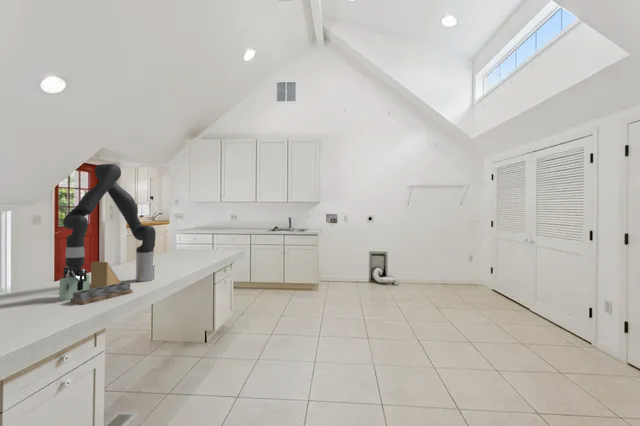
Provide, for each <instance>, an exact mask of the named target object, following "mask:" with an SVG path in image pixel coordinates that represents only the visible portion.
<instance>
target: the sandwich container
mask: <svg viewBox="0 0 640 426" xmlns="http://www.w3.org/2000/svg"><path fill="white" fill-rule="evenodd" d="M117 283H122V282H121V280H120V279H119V278H118V275H116V273H115V272H114V271H113V269H112V268H111V265H110V264H109V262H108V261H91V262H90V289H93V288H98V287H103V286H108V285H113V284H117Z"/></svg>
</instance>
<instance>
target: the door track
mask: <svg viewBox="0 0 640 426" xmlns="http://www.w3.org/2000/svg"><path fill="white" fill-rule="evenodd" d="M125 294H126V295H130V294H133V289H131V283H127V282H121V283H117V284H113V285H108V286H103V287H98V288H93V289H91V288H89V289H88V290H83V291H78V292H74V293H73V298H71V299H69V300H70V303H74V304H79V305H87V304H88V305H89V304H92V303H96V302H101V301H105V300H109V299H108V298H110V299H113V297H114V298H117V296H118V297H121V296H120V295H122V296H125ZM104 299H105V300H104ZM100 300H101V301H100Z"/></svg>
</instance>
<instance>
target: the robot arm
mask: <svg viewBox="0 0 640 426" xmlns="http://www.w3.org/2000/svg"><path fill="white" fill-rule="evenodd" d="M94 175H95V177H96V178H97V180H98V183H96V184H95V186H93V187H92V188H90V190H88V191H87V192H86V193H85V194H84V195H83V196H82V198H81V199H80V201H79V202H78V204H77V205H76V206H75V207H74V208H73V209H72V210H71V211H69V212H68V214H66V215H65V217H64V218H63V223H62V224H63V227H64V228H65V229H68V230H72V231H71V234H68V235H67V237H66V241H65V242H66V245H65V247H66V249H65V261H64V263H65V266H64V267H63V273H62V274H63V275H62V277H63V278H68V277H74V278H75V279H76V280H77V282H78V283H77V290H78V291H80V290H83V282H84V281H87V275H88V273H87V268H83V266H84V265H85V257H86V256H85V255H86V254H85V251H86V250H85V238H86V234H87V231H88V227H89V221H88V219H87V217H86V216H88V215H91V214H92V213H93V212H94V210H95V209H96V208H97V206H98V204H99V202H100V201H101V200H102V198H103V197H104V196H105V194H107V193H108V195H109V196H110V197H111V200H112V201H113V202H114V204H115V206H116V207H117V209H118V211H119V212H120V214H121V215H122V216H123V219H124V220H125V221H126V224H127V225H128V227H129V229H130V231H131V233H132V235H133V238H134V239H136V240H137V241H141V245H139V246H137V247H136V250H135V251H136V255H135V257H136V259H135V261H136V262H135V282H149V281H153V280H155V265H156V264H155V263H154V249H155V246H156V229H155V228H154V226H152V225H143V224H142V222H141V221H140V219H139V217H138V214H139V213H138V212H139V211H138V210H139V208H138V207H139V206H138V204H137V202H135V199H134V198H133V196H131V194H130V193H128V191H126V190H125V189H124V188H123V187H121V186H120V185H119V184H118V182H117V181H118V180H119V179H120V178H121V176H122V170H121V168H120V166H119V165H117V164H114V163H102V164H97V165H96V166H95V168H94ZM83 277H84V279H83ZM79 279H80V280H79Z"/></svg>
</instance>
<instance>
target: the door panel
mask: <svg viewBox="0 0 640 426" xmlns="http://www.w3.org/2000/svg"><path fill="white" fill-rule="evenodd" d="M83 279H84V277H83ZM79 280H80V279H79ZM77 283H78V282H77V280H76V279H75V278H74V277H68V278H59V301H66V300H70V299H71V298H73V293H74V292H78V290H77ZM88 289H90V274H87V281H84V282H83V290H88ZM83 290H80V291H83Z"/></svg>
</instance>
